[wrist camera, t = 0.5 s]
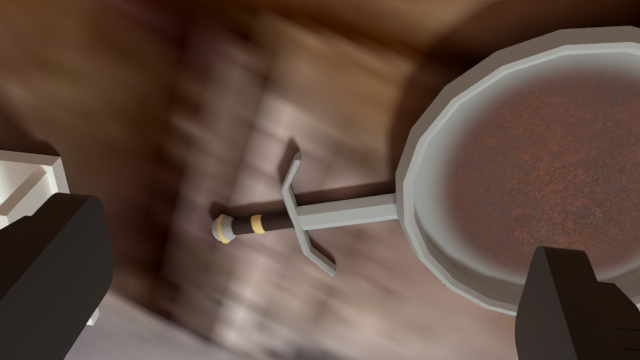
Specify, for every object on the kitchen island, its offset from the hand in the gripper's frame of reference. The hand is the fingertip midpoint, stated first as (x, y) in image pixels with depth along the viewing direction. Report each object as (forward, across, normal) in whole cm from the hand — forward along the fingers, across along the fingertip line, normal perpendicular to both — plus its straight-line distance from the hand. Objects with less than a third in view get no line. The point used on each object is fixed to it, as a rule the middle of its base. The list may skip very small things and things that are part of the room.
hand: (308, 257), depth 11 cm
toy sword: (+19, -5, +10) cm, 22 cm away
